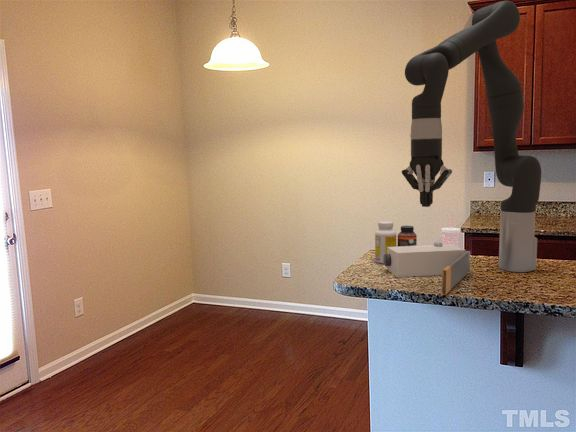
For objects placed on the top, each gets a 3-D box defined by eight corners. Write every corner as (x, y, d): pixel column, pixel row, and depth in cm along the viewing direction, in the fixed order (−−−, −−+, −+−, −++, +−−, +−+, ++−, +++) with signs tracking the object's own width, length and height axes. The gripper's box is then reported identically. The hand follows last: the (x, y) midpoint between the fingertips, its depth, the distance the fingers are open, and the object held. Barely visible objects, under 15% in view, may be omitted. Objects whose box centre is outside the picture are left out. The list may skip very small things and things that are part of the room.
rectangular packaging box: (450, 266, 153) (451, 241, 152) (464, 273, 144) (465, 247, 143) (383, 270, 150) (383, 244, 149) (393, 277, 141) (393, 250, 140)
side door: (465, 271, 145) (466, 250, 144) (470, 271, 144) (470, 250, 144) (441, 294, 123) (441, 269, 122) (446, 294, 122) (446, 270, 122)
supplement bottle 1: (399, 261, 162) (399, 221, 160) (391, 265, 157) (392, 224, 155) (379, 259, 166) (379, 220, 164) (371, 263, 160) (371, 223, 158)
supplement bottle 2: (416, 263, 158) (417, 227, 157) (397, 262, 160) (397, 227, 158) (415, 259, 164) (416, 224, 163) (397, 258, 165) (397, 224, 164)
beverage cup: (442, 252, 173) (443, 212, 171) (460, 254, 170) (461, 213, 168) (439, 256, 167) (440, 214, 166) (458, 257, 165) (459, 215, 163)
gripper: (458, 136, 124) (457, 206, 126) (408, 138, 132) (408, 203, 135) (446, 136, 118) (445, 209, 121) (395, 138, 127) (395, 207, 129)
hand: (426, 206), depth 128 cm, fingers closed
